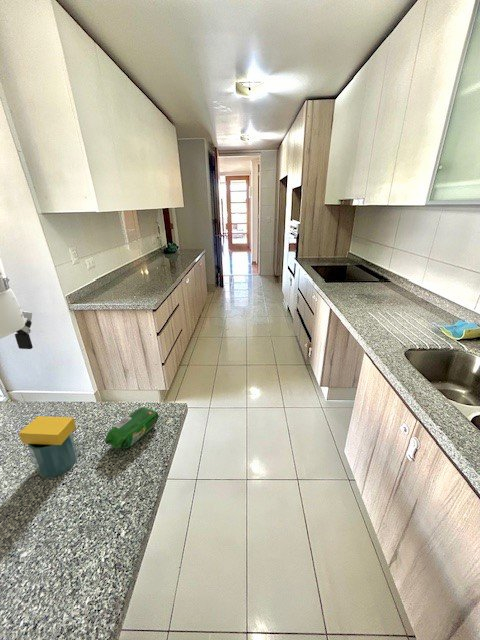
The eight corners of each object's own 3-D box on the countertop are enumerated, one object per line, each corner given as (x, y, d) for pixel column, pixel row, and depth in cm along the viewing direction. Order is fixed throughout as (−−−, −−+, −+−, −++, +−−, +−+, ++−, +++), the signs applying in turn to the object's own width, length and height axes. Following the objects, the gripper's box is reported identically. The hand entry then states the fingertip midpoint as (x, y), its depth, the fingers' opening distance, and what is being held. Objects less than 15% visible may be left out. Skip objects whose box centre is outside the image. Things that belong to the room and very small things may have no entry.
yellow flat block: (22, 443, 59) (18, 433, 58) (40, 425, 64) (37, 416, 63) (60, 445, 58) (57, 434, 57) (76, 427, 64) (73, 417, 62)
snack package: (101, 450, 68) (97, 434, 66) (146, 413, 81) (144, 400, 79) (120, 461, 65) (116, 445, 63) (163, 421, 78) (162, 407, 76)
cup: (29, 477, 61) (18, 448, 57) (54, 448, 68) (45, 421, 65) (63, 479, 60) (54, 450, 57) (84, 450, 68) (77, 423, 65)
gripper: (5, 278, 63) (24, 341, 69) (-81, 297, 47) (-46, 377, 53) (34, 279, 63) (51, 342, 69) (-42, 298, 47) (-11, 379, 53)
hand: (9, 357), depth 61 cm, fingers open, 9 cm apart
